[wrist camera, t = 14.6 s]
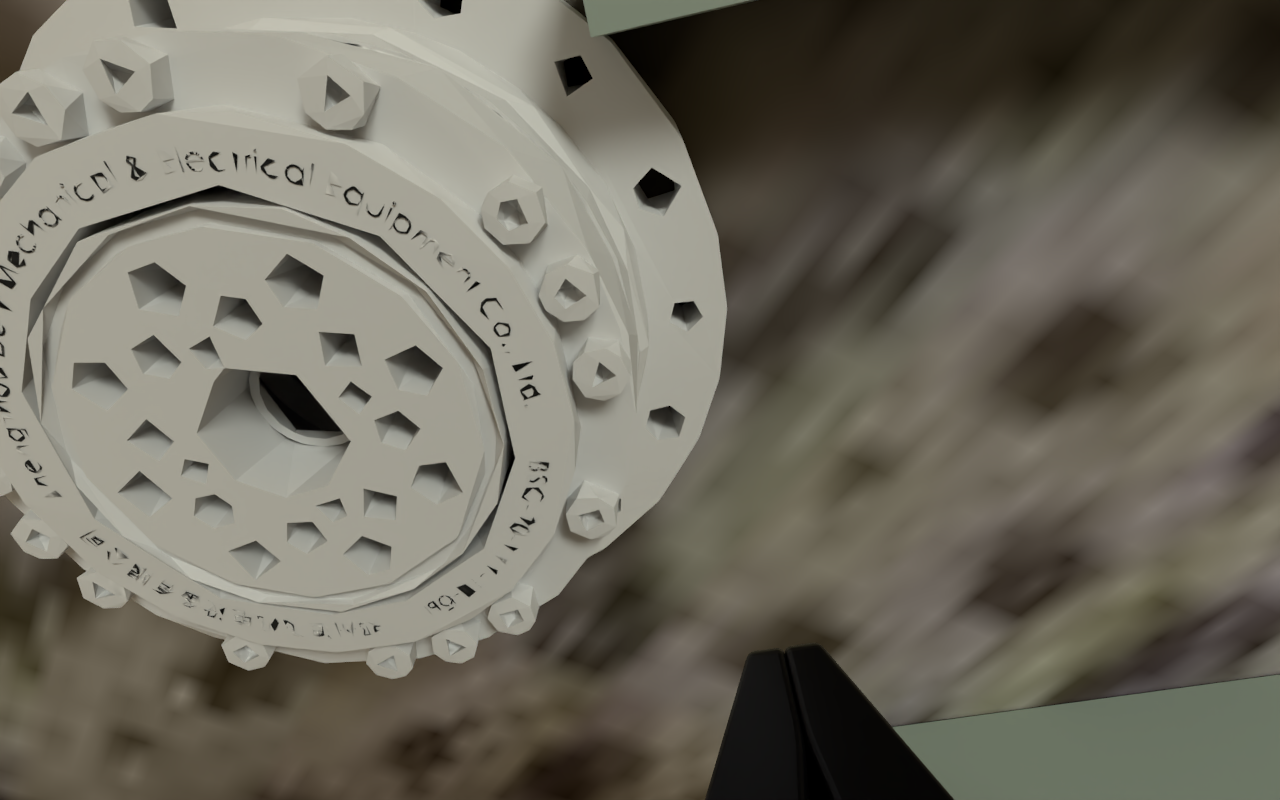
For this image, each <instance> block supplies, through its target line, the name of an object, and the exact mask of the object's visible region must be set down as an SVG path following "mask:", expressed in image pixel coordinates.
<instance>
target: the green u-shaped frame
mask: <svg viewBox="0 0 1280 800" xmlns="http://www.w3.org/2000/svg"><path fill="white" fill-rule="evenodd" d="M753 1H757V0H583V3H584V7H585V12H586V17H587V22H588V26H589V31H590V36H591V37H600V36H606V35H612V34H616V33H620V32H625V31H629V30H633V29H637V28H642V27H646V26H650V25H654V24H659V23H663V22H667V21H672V20H676V19H680V18H684V17H689V16H693V15H697V14H702V13H706V12H710V11H714V10H719V9H723V8H727V7H731V6H736V5H740V4H744V3H749V2H753ZM892 728H893V729H894V730H895V731H896V732H897V733H898V735H899V736H900V737H901V738H902V739H903V740H904V742H905V743H906V744H907V745H908V746H909V747H910V749H911V750H912V751H913V752H914V753H915V754H916V756H917V757H918V758H919V759H920V760H921V761H922V762H923V764H924V765H925V766H926V767H927V768H928V769H929V771H930V772H931V773H932V774H933V775H934V776H935V778H936V779H937V780H938V781H939V782H940V783H941V785H942V786H943V787H944V788H945V789H946V790H947V792H948V793H949V794H950V795H951V796H952V797H953V799H954V800H1280V675H1272V676H1265V677H1258V678H1250V679H1243V680H1236V681H1228V682H1221V683H1214V684H1206V685H1199V686H1191V687H1184V688H1177V689H1169V690H1162V691H1155V692H1147V693H1140V694H1133V695H1125V696H1118V697H1111V698H1103V699H1096V700H1088V701H1081V702H1074V703H1066V704H1059V705H1052V706H1044V707H1037V708H1030V709H1022V710H1015V711H1008V712H1000V713H993V714H986V715H978V716H971V717H963V718H956V719H949V720H941V721H934V722H927V723H919V724H912V725H905V726H897V727H892Z"/></svg>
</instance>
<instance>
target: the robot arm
mask: <svg viewBox="0 0 1280 800" xmlns="http://www.w3.org/2000/svg"><path fill="white" fill-rule="evenodd" d="M705 800H954V799H953V797H952V796H951V795H950V794H949V793H948V792H947V790H946V789H945V788H944V787H943V786H942V785H941V783H940V782H939V781H938V780H937V779H936V778H935V776H934V775H933V774H932V773H931V772H930V771H929V769H928V768H927V767H926V766H925V765H924V764H923V762H922V761H921V760H920V759H919V758H918V757H917V756H916V754H915V753H914V752H913V751H912V750H911V749H910V747H909V746H908V745H907V744H906V743H905V742H904V740H903V739H902V738H901V737H900V736H899V735H898V733H897V732H896V731H895V730H894V729H893V728H892V726H891V725H890V724H889V723H888V722H887V721H886V719H885V718H884V717H883V716H882V715H881V714H880V713H879V711H878V710H877V709H876V708H875V707H874V706H873V704H872V703H871V702H870V701H869V700H868V699H867V697H866V696H865V695H864V694H863V693H862V692H861V690H860V689H859V688H858V687H857V686H856V685H855V683H854V682H853V681H852V680H851V679H850V678H849V677H848V675H847V674H846V673H845V672H844V671H843V670H842V668H841V667H840V666H839V665H838V664H837V663H836V661H835V660H834V659H833V658H832V657H831V656H830V654H829V653H828V652H827V651H826V650H825V649H824V648H823V647H822V646H821V645H820V644H818V643H809V644H802V645H795V646H789V647H788V648H786V650H785V654H784V652H783V650H782V649H779V648H774V649H767V650H760V651H754V652H751V653H750V654H749V655H748V657H747V659H746V662H745V666H744V669H743V672H742V676H741V679H740V683H739V686H738V689H737V693H736V696H735V700H734V703H733V706H732V710H731V713H730V717H729V720H728V723H727V727H726V730H725V734H724V737H723V740H722V744H721V747H720V751H719V754H718V757H717V761H716V764H715V768H714V771H713V774H712V778H711V781H710V785H709V788H708V791H707V795H706V798H705Z"/></svg>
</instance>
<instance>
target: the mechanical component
mask: <svg viewBox="0 0 1280 800" xmlns="http://www.w3.org/2000/svg"><path fill="white" fill-rule="evenodd" d="M440 4H441V0H66V2H65V3H64V4H63V5H62V6H61V7H60V8H59V9H58V10H57V11H56V12H55V13H54V14H53V15H52V16H51V17H50V18H49V19H48V20H47V21H46V22H45V23H44V24H43V25H42V27H41V28H40V29H39V30H38V31H37V32H36V33H35V34H34V35H33V37H32V40H31V42H30V45H29V48H28V50H27V53H26V55H25V58H24V61H23V63H22V66H21V69H20V71H19V72H15V73H14V74H13V75H11V76H10V77H9V78H7V79H6V80H5V81H3V82H2V83H1V84H0V496H2V495H5V497H6V498H7V499H8V500H9V501H11V502H12V503H13V504H14V505H15V506H16V507H17V508H18V509H19V510H20V511H21V512H22V513H24V514H25V515H24V516H23V517H22V518H21V520H20V521H19V522H18V524H17V525H16V527H15V528H14V530H13V531H12V532H11V535H12V536H13V538H14V539H15V540H16V542H17V543H18V544H19V546H20V547H21V548H22V550H23V551H24V552H26V553H28V554H31V555H33V556H35V557H38V558H40V559H50V558H58V557H59V556H61V555H62V554H63V553H64V552H66V553H67V554H68V555H69V556H70V557H71V558H72V559H73V560H74V561H75V562H76V563H78V564H79V565H80V566H81V567H82V568H83V569H85V570H86V572H85V573H83V574H82V575H81V576H79V577H78V578H77V580H78V583H79V586H80V589H81V592H82V595H83V598H84V599H86V600H88V601H90V602H92V603H94V604H96V605H98V606H100V607H102V608H121V607H122V606H123V605H124V604H125V603H126V602H127V601H128V600H129V599H132V600H133V601H135V602H137V603H138V604H140V605H141V606H143V607H145V608H146V609H148V610H149V611H151V612H152V613H154V614H156V615H157V616H160V617H163V618H165V619H168V620H170V621H173V622H176V623H178V624H181V625H184V626H186V627H189V628H191V629H194V630H197V631H199V632H202V633H205V634H207V635H210V636H212V637H215V638H220V639H224V642H223V643H222V645H221V646H222V648H223V650H224V653H225V655H226V657H227V660H228V662H230V663H232V664H234V665H237V666H239V667H241V668H244V669H246V670H248V671H249V670H253V669H257V668H262V667H265V666H266V664H267V662H268V661H269V659H270V658H271V656H272V654H273V652H274V651H275V652H280V653H284V654H288V655H292V656H297V657H301V658H305V659H310V660H314V661H318V662H322V663H337V662H356V661H366V664H367V665H368V666H369V667H370V668H371V669H372V671H373V672H374V673H375V674H376V675H379V676H382V677H386V678H390V679H395V678H399V677H404V676H406V675H407V674H408V673H409V672H410V671H411V670H412V668H413V666H414V663H415V660H416V658H423V657H426V656H429V655H433V654H435V655H437V656H438V657H440V658H441V659H443V660H444V661H446V662H454V663H464V662H465V661H467V660H469V659H471V658H473V657H474V656H475V652H476V649H477V645H478V640H482V639H485V638H488V637H490V636H491V635H493V634H495V633H496V632H498V631H499V632H504V633H509V634H514V635H519V634H522V633H524V632H526V631H529V630H530V629H531V627H532V626H533V624H534V622H535V621H536V617H537V613H538V610H539V606H541V605H542V604H544V603H546V602H547V601H549V600H551V599H552V598H554V597H556V596H557V595H559V593H560V592H561V591H562V590H563V588H564V587H565V586H566V585H567V583H568V582H569V581H570V579H571V578H572V577H573V576H574V574H575V573H576V572H577V570H578V569H579V568H580V567H581V565H582V564H583V563H584V562H585V560H586V559H587V558H588V557H590V556H592V555H593V554H595V553H597V552H599V551H601V550H603V549H605V548H606V547H607V546H608V545H609V544H610V543H611V542H613V541H614V540H615V539H616V538H617V537H618V536H619V535H621V534H622V533H623V532H624V531H625V530H626V529H627V528H629V527H630V526H631V525H632V524H633V523H634V522H635V521H637V520H638V519H639V518H640V517H641V516H642V515H643V514H644V513H646V512H647V511H648V510H649V509H650V508H651V507H652V506H654V505H655V504H656V503H657V502H658V501H659V500H660V499H661V497H662V495H663V494H664V492H665V491H666V489H667V488H668V486H669V485H670V483H671V482H672V480H673V479H674V477H675V476H676V474H677V473H678V471H679V469H680V468H681V466H682V465H683V463H684V461H685V460H686V458H687V457H688V455H689V453H690V452H691V450H692V448H693V447H694V445H695V444H696V442H697V440H698V439H699V437H700V434H701V431H702V428H703V425H704V422H705V419H706V416H707V413H708V410H709V408H710V405H711V402H712V399H713V396H714V393H715V390H716V387H717V384H718V381H719V378H720V369H721V360H722V351H723V342H724V333H725V323H726V314H727V303H726V295H725V288H724V280H723V272H722V264H721V256H720V248H719V240H718V234H717V231H716V228H715V225H714V222H713V219H712V217H711V214H710V211H709V209H708V206H707V203H706V201H705V198H704V195H703V193H702V190H701V187H700V184H699V182H698V179H697V176H696V174H695V171H694V168H693V166H692V163H691V160H690V158H689V155H688V152H687V149H686V147H685V144H684V141H683V139H682V137H681V134H680V132H679V130H678V128H677V125H676V123H675V121H674V120H673V118H672V117H671V116H670V114H669V113H668V112H667V110H666V109H665V108H664V106H663V105H662V104H661V102H660V101H659V100H658V99H657V97H656V96H655V95H654V93H653V92H652V91H651V89H650V88H649V87H648V85H647V84H646V83H645V81H644V80H643V79H642V78H641V76H640V75H639V74H638V72H637V71H636V70H635V68H634V67H633V66H632V64H631V63H630V62H629V60H628V59H627V58H626V56H625V55H624V54H623V53H622V51H621V50H620V49H619V47H618V46H617V45H616V43H615V42H614V41H613V39H612V38H610V37H609V36H608V35H606V36H600V37H591V36H590V31H589V26H588V22H587V18H586V17H584V16H583V15H582V14H581V13H579V12H578V11H577V10H576V9H574V8H573V7H572V6H571V5H569V4H568V3H567V2H566V1H564V0H462V6H461V13H459V14H455V13H453V12H450V11H448V10H446V9H444V8H442V7H440ZM580 55H581V57H582V59H583V61H584V63H585V65H586V67H587V68H588V70H589V72H590V74H591V76H592V78H593V79H591V80H590V81H588V82H587V83H586V84H582V85H576V86H570V87H568V85H567V79H566V73H565V67H564V61H565V60H567V59H568V58H572V57H576V56H580ZM651 168H653V169H655V170H657V171H658V172H660V173H662V174H663V175H665V176H666V177H668V178H670V179H671V180H673V181H674V188H675V190H674V191H670V192H667V193H664V194H661V195H658V196H655V197H652V198H649V199H648V198H647V197H646V195H645V193H644V192H643V190H642V188H641V187H640V185H639V184H638V182H639V181H640V180H641V179H642V178H643V177H644V176H645V174H646V173H647V172H648V171H649V170H650V169H651ZM681 302H686V303H685V304H683V305H679V304H678V303H681ZM666 406H671V407H670V408H667V407H666Z"/></svg>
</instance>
